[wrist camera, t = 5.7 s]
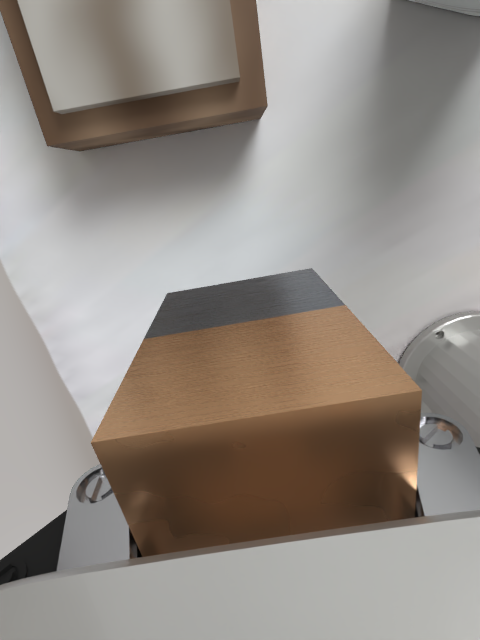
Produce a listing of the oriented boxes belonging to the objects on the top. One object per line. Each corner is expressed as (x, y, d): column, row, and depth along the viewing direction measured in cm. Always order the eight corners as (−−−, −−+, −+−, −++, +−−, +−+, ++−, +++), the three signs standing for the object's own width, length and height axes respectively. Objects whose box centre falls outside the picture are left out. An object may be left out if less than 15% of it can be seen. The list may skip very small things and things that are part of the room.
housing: (312, 268, 11) (422, 389, 5) (325, 428, 14) (407, 641, 8) (167, 293, 12) (91, 442, 5) (208, 447, 14) (193, 669, 8)
